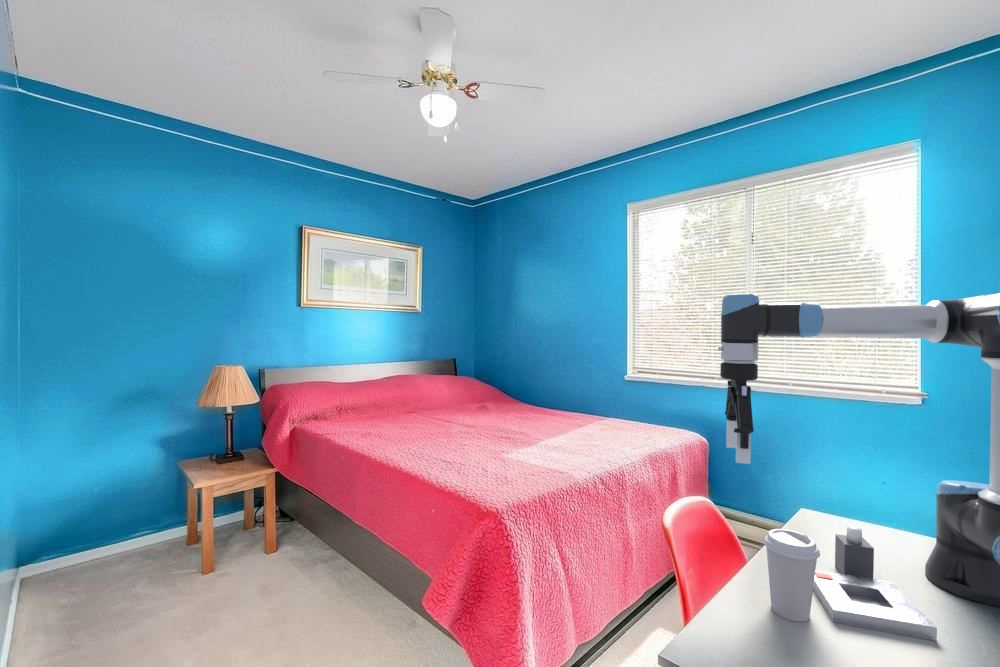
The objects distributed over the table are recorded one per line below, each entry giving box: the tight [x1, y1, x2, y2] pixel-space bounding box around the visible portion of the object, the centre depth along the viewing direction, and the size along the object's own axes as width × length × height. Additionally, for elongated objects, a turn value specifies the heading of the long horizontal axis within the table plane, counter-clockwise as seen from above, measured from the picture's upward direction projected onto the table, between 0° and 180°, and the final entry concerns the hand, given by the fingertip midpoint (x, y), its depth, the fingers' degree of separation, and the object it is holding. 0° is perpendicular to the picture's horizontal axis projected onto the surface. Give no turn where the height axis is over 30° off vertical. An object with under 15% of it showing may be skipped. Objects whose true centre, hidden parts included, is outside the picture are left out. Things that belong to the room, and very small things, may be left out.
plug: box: [834, 525, 875, 579], centre depth 105 cm, size 6×6×11 cm
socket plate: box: [813, 569, 938, 642], centre depth 93 cm, size 16×16×3 cm
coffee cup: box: [763, 528, 821, 623], centre depth 91 cm, size 10×10×15 cm
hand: (737, 454), depth 104 cm, fingers open, 13 cm apart
